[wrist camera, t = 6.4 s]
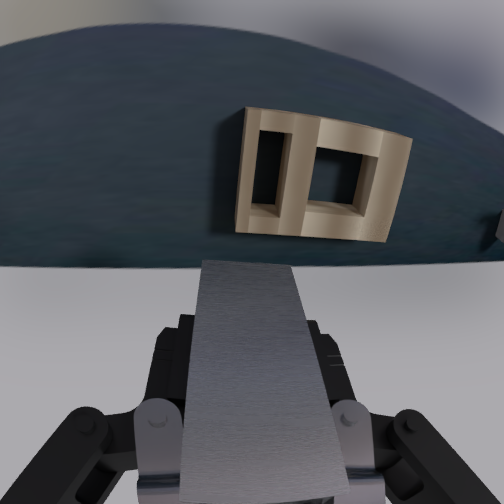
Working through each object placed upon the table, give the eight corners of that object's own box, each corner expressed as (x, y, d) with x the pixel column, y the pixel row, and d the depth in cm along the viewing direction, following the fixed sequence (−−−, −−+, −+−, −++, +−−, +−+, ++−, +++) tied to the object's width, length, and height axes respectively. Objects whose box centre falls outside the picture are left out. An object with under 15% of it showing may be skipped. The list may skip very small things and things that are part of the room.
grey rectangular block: (201, 324, 14) (189, 523, 6) (202, 259, 12) (178, 501, 4) (276, 328, 14) (307, 519, 6) (290, 265, 12) (351, 492, 5)
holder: (234, 217, 28) (235, 232, 25) (245, 106, 23) (248, 108, 20) (372, 228, 30) (385, 242, 27) (395, 132, 25) (412, 139, 22)
